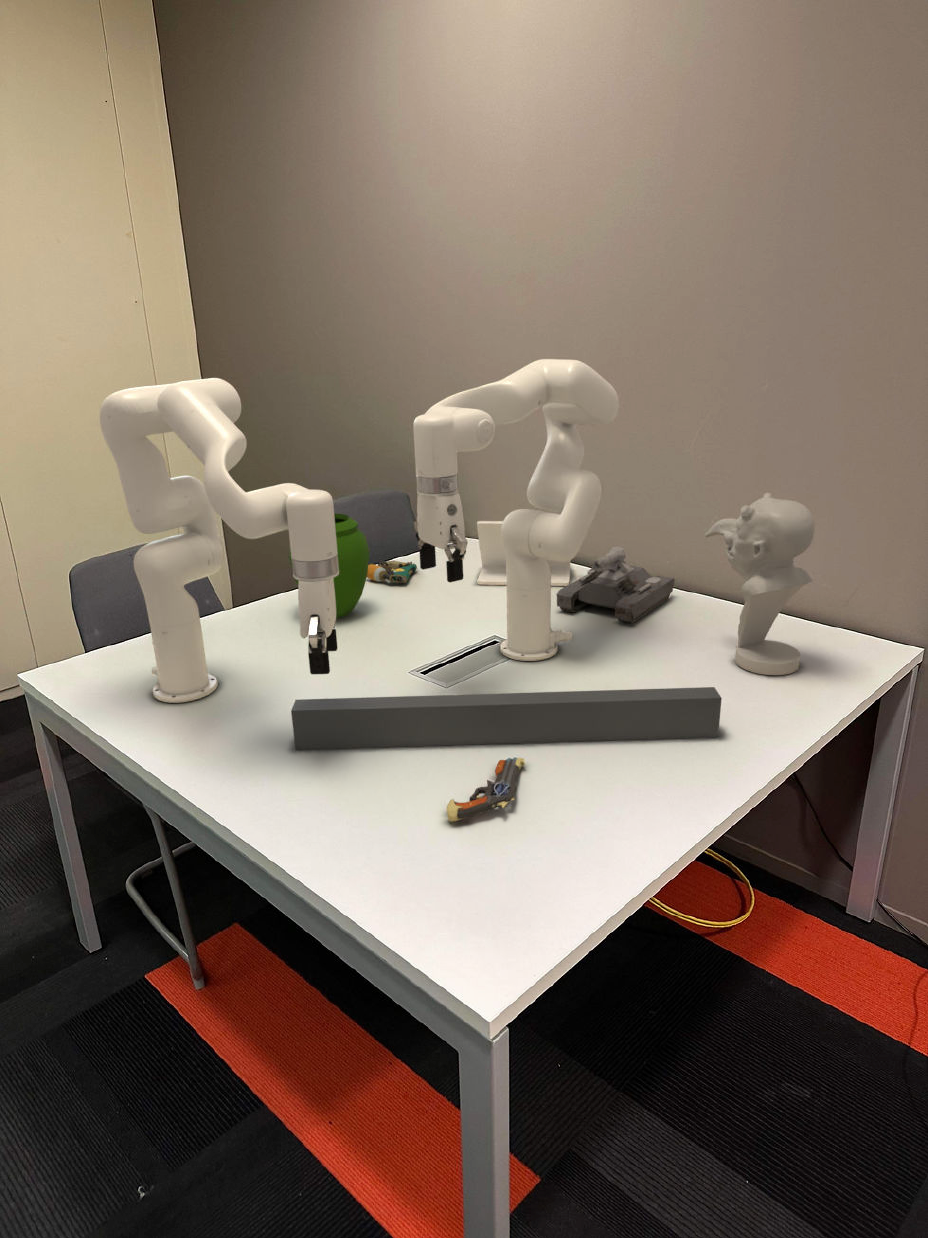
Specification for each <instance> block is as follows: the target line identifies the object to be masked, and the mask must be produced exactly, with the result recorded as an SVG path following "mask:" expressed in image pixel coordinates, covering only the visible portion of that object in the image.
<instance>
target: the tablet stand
mask: <svg viewBox="0 0 928 1238" xmlns="http://www.w3.org/2000/svg"><path fill="white" fill-rule="evenodd" d="M503 521H504V520H477V522H476V531H477V537H478V544H479V551H480V557H481V558H480V559H481V570H480V573H479V575H478V577H477V580H476V581H477V582H476V584H478V585H484V586H485V585H486V586H487V585H489V586H490V585H491V586H507V572H506V559H505V552H504V548H503V543H502V538H501V527H502V523H503ZM546 560H547V562H548V565H549V568H550V572H551V587H556V586H557V587H566V586H567V585H569V584H570V580H571V579H570V578H571V565H572V564H571V561H572V559H571V560H570V561H566V562H559V561H553V560H548V559H546Z"/></svg>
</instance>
